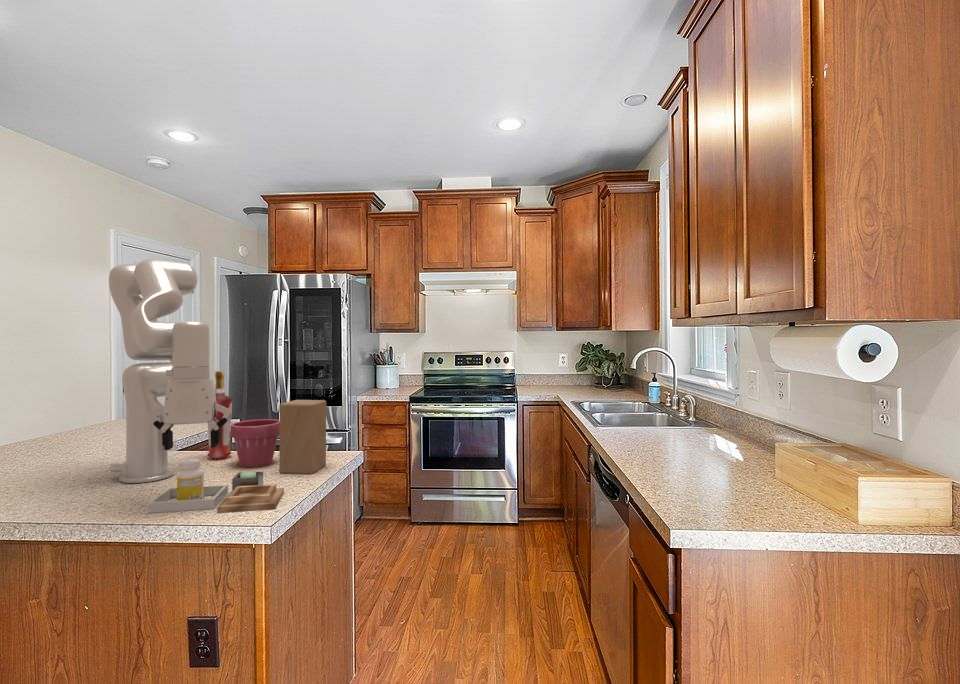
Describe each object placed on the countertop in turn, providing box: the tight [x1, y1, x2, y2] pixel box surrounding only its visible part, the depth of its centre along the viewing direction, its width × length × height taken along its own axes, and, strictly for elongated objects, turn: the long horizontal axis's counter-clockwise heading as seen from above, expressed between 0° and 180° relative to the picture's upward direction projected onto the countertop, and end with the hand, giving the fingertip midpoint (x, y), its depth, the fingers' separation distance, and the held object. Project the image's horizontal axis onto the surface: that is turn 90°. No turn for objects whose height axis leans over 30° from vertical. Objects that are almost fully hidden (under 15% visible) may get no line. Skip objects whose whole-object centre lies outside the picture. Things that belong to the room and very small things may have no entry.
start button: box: [240, 470, 257, 478], centre depth 125 cm, size 4×4×2 cm
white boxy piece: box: [231, 471, 264, 491], centre depth 125 cm, size 6×6×4 cm
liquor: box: [207, 370, 233, 461], centre depth 159 cm, size 7×7×28 cm
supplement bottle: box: [176, 458, 205, 501], centre depth 115 cm, size 5×5×10 cm
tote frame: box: [148, 484, 229, 514], centre depth 115 cm, size 13×11×2 cm
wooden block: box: [278, 399, 327, 475], centre depth 146 cm, size 10×10×20 cm
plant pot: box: [230, 418, 280, 468], centre depth 152 cm, size 14×14×13 cm
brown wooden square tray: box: [216, 483, 285, 513], centre depth 116 cm, size 12×12×3 cm
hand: (191, 447), depth 115 cm, fingers open, 9 cm apart
